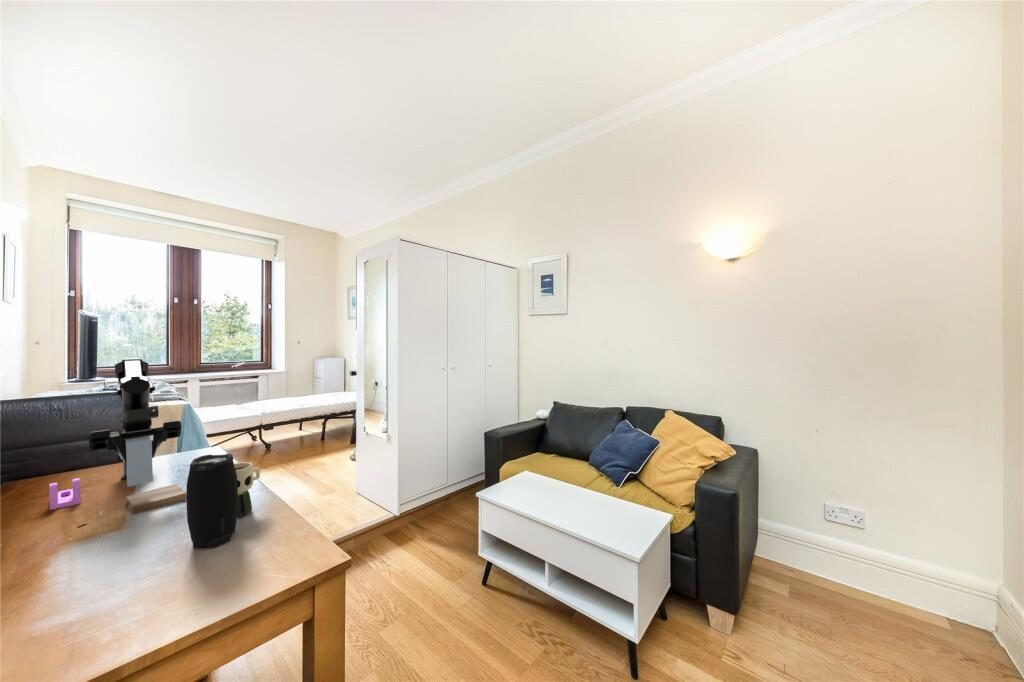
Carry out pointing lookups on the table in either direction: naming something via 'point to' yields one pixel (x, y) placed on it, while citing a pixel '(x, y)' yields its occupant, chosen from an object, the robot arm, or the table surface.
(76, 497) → the bracket
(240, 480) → the character mug
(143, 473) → the block
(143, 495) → the plinth
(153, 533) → the table surface
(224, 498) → the portable speaker
